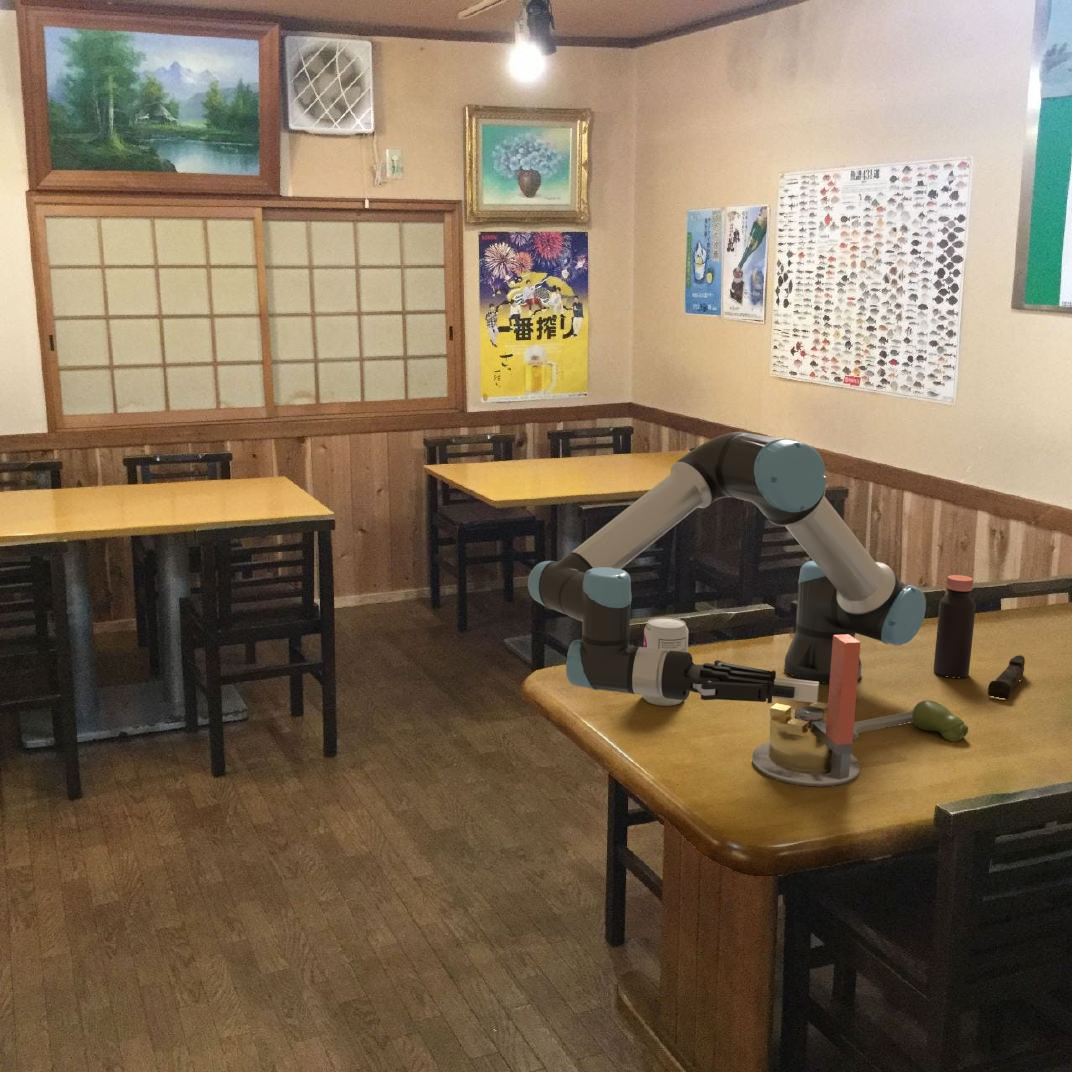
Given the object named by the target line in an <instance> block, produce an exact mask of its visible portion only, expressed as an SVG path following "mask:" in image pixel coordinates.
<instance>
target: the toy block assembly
mask: <svg viewBox="0 0 1072 1072" xmlns="http://www.w3.org/2000/svg"><path fill="white" fill-rule="evenodd" d="M860 653H861V641H859V639H857V638H856V637H855V638H853V637H852V636H850V635H849V634H845V635H833V643H832V657H831V670H830V683H828V685H829V686H828V699H827V703H825V702H820V701H817V703H812V702H811V704H810V705H809V706H808V707H813V708H817V709H819V710H821V711H822V712H823V721H815V722H811V726H808V724H809V722H808V721H804V720H800V719H795V709H792V706H790V705H786V704H782V703H777V702H776V703H775V704H773V705H772V706H770V708H769V718H770V719H769V720H770V723H769V736H768V737H769V738H768V742H769V751H768V755H769V758H770V759H771V760H772V761H773V762H774V763H776V764H778V765H780V766H782V767H785V768H788V769H791V770H795V771H801V772H810V773H822V772H829V771H831V760H832V751H833V752H834V753H835V754H836V755H840V754H852V753H853V751H852V750H853V741H854V740H853V731H854V722H855V719H856V716H855V715H856V705H857V703H856V702H857V690H858V680H859V679H858V669H859V656H860ZM860 657H861V656H860Z"/></svg>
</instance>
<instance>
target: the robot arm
mask: <svg viewBox="0 0 1072 1072" xmlns="http://www.w3.org/2000/svg"><path fill="white" fill-rule="evenodd" d="M826 471H827V470H826V465H825V463H824V459H823V458H822V456H821V455H820V453H819V452H818V451H817V450H816V449H815V448H814V447H812V446H811V445H810V444H807V443H805V442H801V441H799V440H795V439H793V438H786V437H784V438H783V437H776V436H769V435H761V434H758V433H757V434H756V433H751V432H747V431H734V432H733V431H732V432H728V433H727V432H726V433H724V434H721V435H719V436H716V437H713V438H712V439H709V440H708V441H706V442H703V443H702V444H700V445H698V446H697V447H695V448H694V449H692V450H690V451H689V452H687V454H685V455H684V456H682V457H681V458H680V459H678V460H677V461H676V462H675V463H674V464H672V466H671V467H670V474H669V475H667V476H666V477H665V478H663V480H661V481H660V482H658V483H657V484H656V485H655V486H653V487H652V488H651V489H649V490H648V491H647V492H646V493H645V494H644V495H642V496H641V497H639V498H638V499H637V500H636V501H634V502H633V503H632V504H630V505H629V506H628V507H626V508H625V509H624V510H623V511H621V512H620V513H619V514H618V515H616V516H615V517H614V518H613V519H612V520H610V521H608V523H607V524H605V525H604V526H602V527H601V528H600V529H598V530H597V531H596V532H595V533H593V535H591V536H590V537H588V539H586V540H585V541H583V543H581V544H580V545H579V546H577V547H576V548H575V549H574V550H572V551H571V552H570V553H568V554H567V555H566V556H564V557H563V558H562V559H561V560H559V561H554V560H544V561H541V562H539V563H537V564H536V565H535V566H534V567H533V568H532V570H531V572H530V573H529V576H528V580H527V588H528V592H529V595H530V596H531V598H532V599H533V600H534V601H536V602H537V603H538V604H541V605H542V606H543V607H545V608H547V609H550V610H553V611H556V612H559V613H561V614H563V615H566V616H568V617H570V618H573V619H575V620H577V621H580V622H582V626H581V630H582V631H581V638H580V639H575V640H573V641H572V642H571V644H570V645H569V647H568V651H567V659H566V662H565V673H566V678H567V680H568V681H569V682H568V683H570V684H571V685H572V686H575V687H581V688H586V689H592V690H593V691H606V692H615V693H625V694H626V693H627V694H632V695H641V696H642V695H643V697H644V698H648V696H655V697H659V696H660V695H661V694H662V695H663V696H664V697H665V698H668V699H676V700H683V701H686V700H687V699H688V698H689V695H690V693H691V692H692V693H696V694H698V693H699V694H700V700H702V701H714V700H721V701H737V702H738V701H739V702H741V701H742V702H758V703H765V702H767V703H766V704H772V703H773V699H781V700H790V701H798V702H805V703H811V704H812V703H817V702H818V700H819V688H820V684H829V683H830V670H831V657H832V643H833V635H845V634H849V635H850V636H852V637H853V638H855V639H856V634H857V635H860V636H863V637H866V638H870V639H872V640H876V641H879V642H881V643H883V644H885V645H892V646H895V647H896V646H897V647H900V646H903V645H905V644H907V643H909V642H911V640H912V639H914V637H915V636H916V635H917V634H918V633H919V631H920V629H921V627H922V624H923V622H924V619H925V616H926V610H927V600H926V596H925V594H924V592H923V591H922V590H921V589H920V588H919V587H916V586H915V585H913V584H906V583H905V582H902V580H901V579H900V578H899V577H898V576H897V575H896V573H895V572H894V571H893V569H892V568H891V567H889V565H887V564H885V563H883V562H881V561H875V560H874V559H873V557H872V556H871V555H870V553H869V552H868V551H867V550H866V548H865V547H864V546H863V544H862V543H861V542H860V540H859V539H858V538H857V537H856V535H855V534H854V533H853V531H852V530H851V528H850V527H849V526H848V525H847V523H846V522H845V521H844V519H843V518H842V517H841V515H839V513H838V511H837V510H835V508H834V506H833V505H832V504H831V503H830V501H829V500H828V499H827V497H826V496H825V495H826V484H827V476H825V473H826ZM724 498H734V499H737V500H742V501H747V502H750V503H752V504H753V505H754V506H756V507H757V509H759V511H760V512H761V513H762V515H763V516H764V517H766V518H765V519H767V520H768V521H769V522H770V523H771V524H773V525H775V526H779V527H784V528H786V529H787V531H788V532H789V533H790V534H791V535H792V537H793V538H794V539H795V541H796V542H797V543H798V544H799V545H800V546H801V548H802V549H803V551H805V553H806V554H807V555H808V556H809V557H810V559H811V560H810V561H806V562H805V563H803V564H802V565H801V566H800V571H799V577H798V582H797V585H798V586H797V599H796V600H797V601H796V603H797V605H796V622H795V625H796V626H795V633H794V635H793V637H792V640H791V643H790V645H789V647H788V650H787V652H786V653H785V654H786V655H785V657H784V665H783V666H784V667H783V668H784V671H785V672H786V673H787V674H788V675H790V676H791V677H793V678H789V677H782V676H781V677H780V676H777V671H776V670H772V671H771V670H766V669H762V668H756V667H750V666H745V665H739V664H734V663H730V662H727V661H723V660H721V659H716V660H714V663H707V662H704V663H703V664H702V663H701V664H698V663H697V664H695V663H694V661H693V660H694V659H693V656H692V654H691V653H690V652H680V651H671V650H670V651H669V652H667V654H666V652H665V650H664V649H656V648H646V647H644V646H633V645H630V626H631V625H630V624H631V623H630V622H631V605H632V600H633V596H632V590H631V589H632V585H631V583H632V582H631V581H632V580H631V576H630V574H629V573H628V572H627V571H626V570H624V569H623V568H624V567H625V566H626V565H628V564H629V563H630V562H632V561H633V560H634V559H635V558H636V557H638V556H639V555H640V554H641V553H643V552H644V551H645V550H647V549H648V548H649V547H650V546H651V545H652V544H654V543H655V542H656V541H658V540H659V539H660V538H661V537H663V536H664V535H665V534H666V533H668V532H669V531H670V530H671V529H672V528H674V527H675V526H676V525H677V524H679V523H680V522H682V520H684V519H685V518H686V517H687V516H688V515H690V514H691V513H692V512H694V511H695V510H696V509H698V508H700V509H706V508H707V507H709V506H710V505H712V504H713V503H714V502H715V501H717V500H720V499H724ZM862 670H863V669H862V661H861V656H859V669H858V680H859V679H860V678H861V677H862ZM643 697H642V698H643ZM644 698H643V699H644Z"/></svg>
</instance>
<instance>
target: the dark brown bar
mask: <svg viewBox="0 0 1072 1072" xmlns="http://www.w3.org/2000/svg"><path fill="white" fill-rule="evenodd" d="M1025 660H1026V659H1025V657H1024V656H1023V655H1022V654H1020V655H1015V656H1014V657H1012V658H1011V659H1010V660H1009V663H1008V666H1007V667H1006V668H1005V669H1004V670H1003V671H1002V672H1001V673H1000V675H998V676H997V678H996V679H995V680H991V681H990V682H989V684H988V687H987V690H988V691H987V695H988V696H989V697H990V696H994V697H999V698H1005V699H1007V700H1008V699H1009V697H1010V695H1011V692H1012V691H1013V689H1014V688H1015V687H1016V686H1017V684H1018V683H1020V682H1019V680H1021V679H1022V680H1023V678H1022V677H1024V672H1025Z"/></svg>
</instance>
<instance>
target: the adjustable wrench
mask: <svg viewBox="0 0 1072 1072" xmlns="http://www.w3.org/2000/svg"><path fill="white" fill-rule="evenodd" d="M912 713H913V710H910V711H906V712H901V713H895V714H890V715H885V716H880V717H875V718H869V719H864V720H859V721H854V731H853V741H856V740H857V739H859V734H861V733H865V732H871V731H877V730H882V729H884V728H883V727H888V728H891V726H893V727H896V726H895V725H898V726H900V725H899V724H904V723H908V722H914V721H913V718H912ZM904 725H905V724H904ZM881 728H882V729H881Z"/></svg>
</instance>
